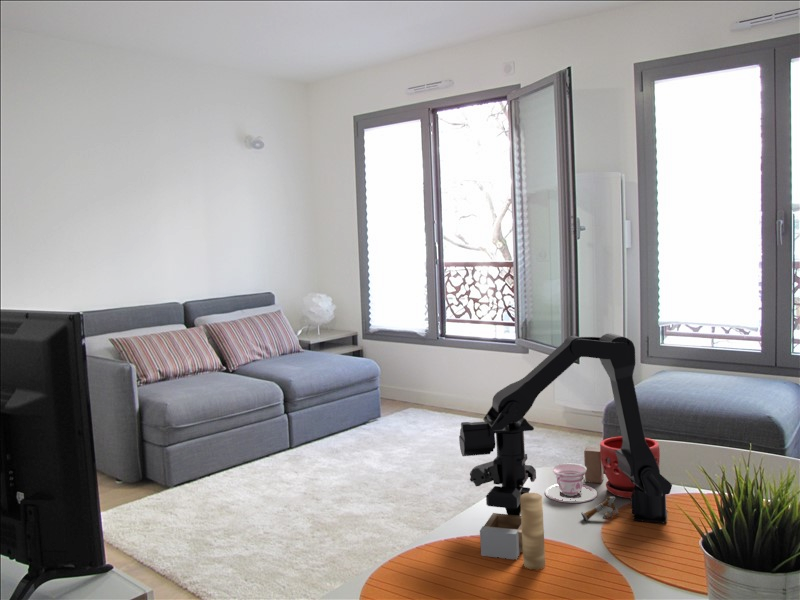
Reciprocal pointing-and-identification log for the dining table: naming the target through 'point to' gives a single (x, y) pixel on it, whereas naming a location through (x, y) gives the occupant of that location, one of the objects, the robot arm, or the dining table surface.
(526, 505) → the dowel
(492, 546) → the wall
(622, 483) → the plant pot
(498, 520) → the socket block
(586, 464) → the wooden block
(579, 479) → the teacup
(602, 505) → the brown and silver rod
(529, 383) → the robot arm
